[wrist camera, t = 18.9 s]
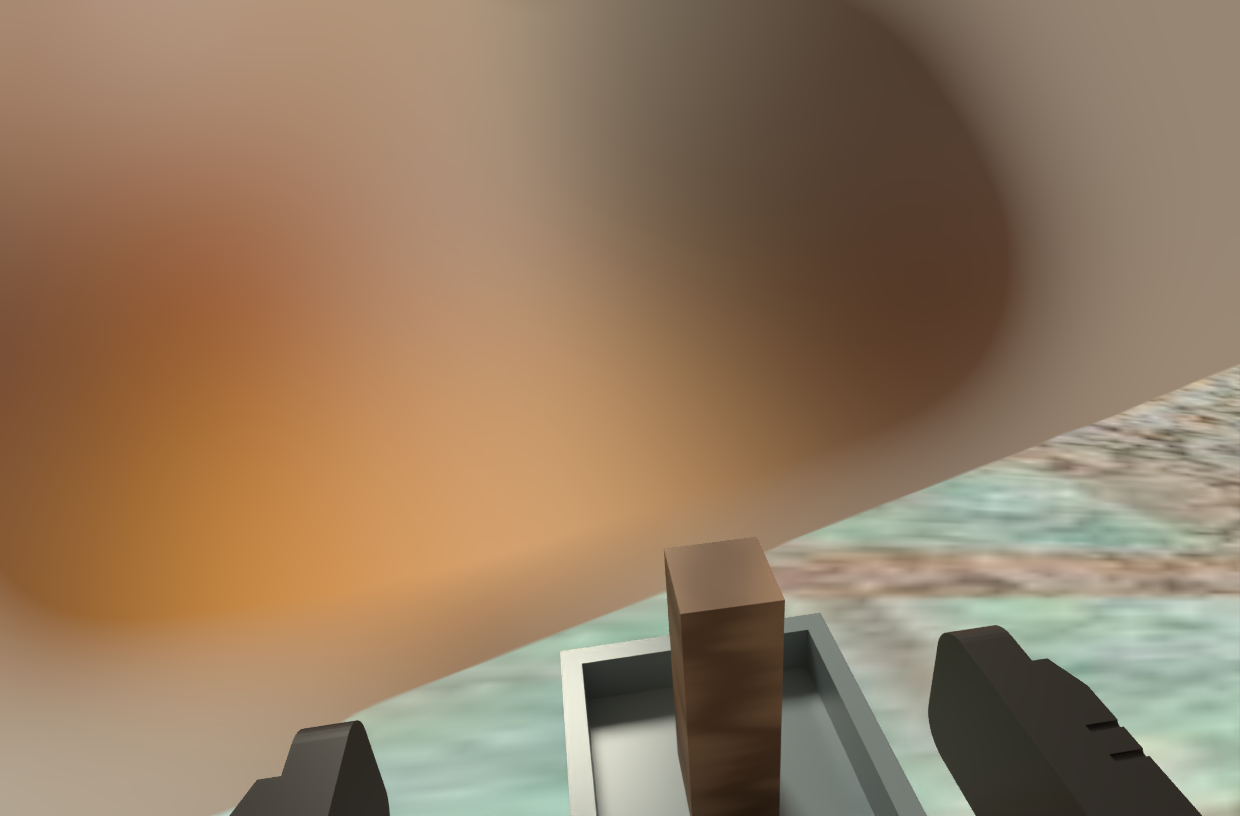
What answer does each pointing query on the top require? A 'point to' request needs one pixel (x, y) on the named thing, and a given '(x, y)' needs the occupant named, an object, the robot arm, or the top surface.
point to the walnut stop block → (727, 676)
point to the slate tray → (647, 744)
